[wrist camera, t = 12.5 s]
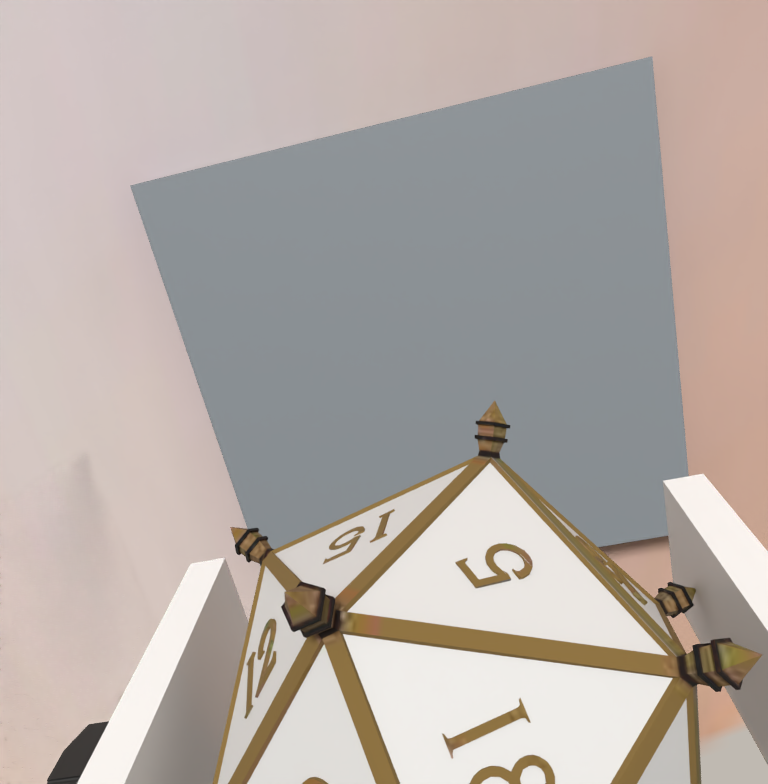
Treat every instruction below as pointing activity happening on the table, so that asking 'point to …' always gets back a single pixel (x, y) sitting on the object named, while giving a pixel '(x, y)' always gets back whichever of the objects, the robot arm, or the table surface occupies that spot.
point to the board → (438, 306)
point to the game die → (463, 648)
